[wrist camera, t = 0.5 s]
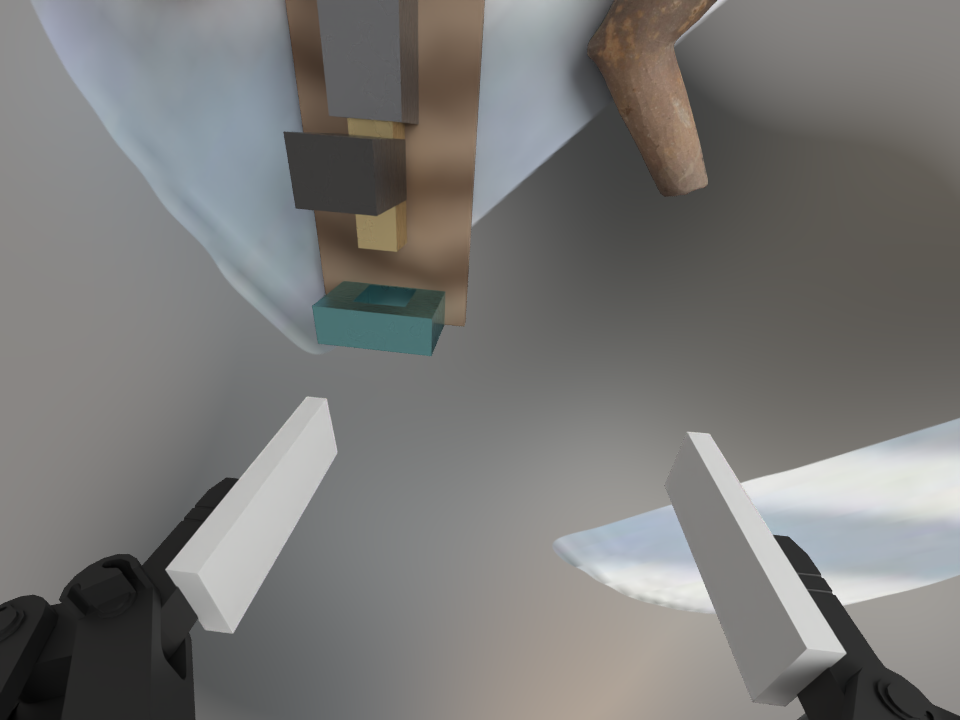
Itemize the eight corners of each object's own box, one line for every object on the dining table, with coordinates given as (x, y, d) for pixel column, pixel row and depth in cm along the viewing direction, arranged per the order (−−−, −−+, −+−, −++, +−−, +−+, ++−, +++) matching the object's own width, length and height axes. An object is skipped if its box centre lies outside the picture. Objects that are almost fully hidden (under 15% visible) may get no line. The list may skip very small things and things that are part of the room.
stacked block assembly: (308, -42, 26) (248, -92, 20) (455, -32, 25) (436, -80, 20) (347, 314, 39) (318, 343, 33) (444, 324, 38) (431, 356, 33)
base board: (284, -58, 26) (276, -65, 25) (487, -45, 26) (486, -51, 25) (332, 308, 40) (328, 311, 39) (465, 322, 39) (464, 326, 38)
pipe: (666, 222, 29) (831, 134, 24) (554, -21, 22) (747, -209, 18) (654, 201, 34) (788, 125, 29) (560, -2, 28) (710, -144, 23)
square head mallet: (338, -45, 25) (239, -146, 16) (414, -40, 25) (355, -139, 16) (361, 238, 34) (306, 272, 25) (417, 243, 34) (380, 280, 25)
